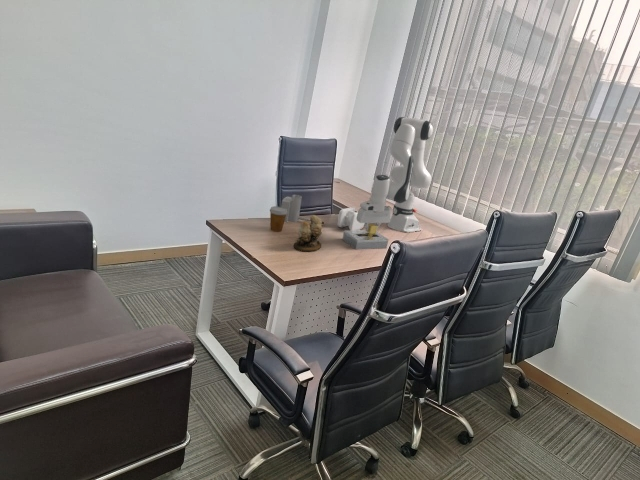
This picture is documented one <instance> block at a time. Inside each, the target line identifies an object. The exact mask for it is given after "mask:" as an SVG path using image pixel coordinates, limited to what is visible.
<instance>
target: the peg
mask: <svg viewBox="0 0 640 480" xmlns="http://www.w3.org/2000/svg"><path fill="white" fill-rule="evenodd" d="M376 225H377V224H375V223H369V225H368V227H370V229H369V230H366V231H367V232H368V233H369V234H368V236H370V237H372V235H373V233H376V232H378V230H377V227H378V226H376ZM378 228H379V227H378Z"/></svg>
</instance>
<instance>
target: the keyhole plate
mask: <svg viewBox="0 0 640 480" xmlns="http://www.w3.org/2000/svg"><path fill="white" fill-rule="evenodd" d="M368 234H369V233H368V232H367V231H366V230H365V229H363V230H362V229H361V230H353V231H350V230H344V231H343V235H342V241H344V242H345V243H347V244H348V246H350V247H352V248H353V249H354V250H372V249H373V250H375V249H376V250H377V249H378V250H379V249H380V250H381V249H387V247H388V243H389V238H387V237H386V236H384V235H383V234H381V233H380V232H378V231H376V233H373V235H372V237H370V236H368Z"/></svg>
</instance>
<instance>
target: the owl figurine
mask: <svg viewBox="0 0 640 480" xmlns="http://www.w3.org/2000/svg"><path fill="white" fill-rule="evenodd" d="M309 219H310V221H306V220H302V224H301V225H300V227H299V232H298V237H296V239H295V241H296V242H295V243H294V244H293V249H295V250H296V251H298V252H302V253H315V252H317V251H319V250H320V249H321V248H322V243H321V242H320V241H319V237H321V234H323V233H322V230H323V227H322V225H323V224H322V222H323V221H322V219H321V218H320V217H318V216H317V215H315V214H312V215H311V216H310V218H309Z"/></svg>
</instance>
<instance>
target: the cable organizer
mask: <svg viewBox="0 0 640 480" xmlns="http://www.w3.org/2000/svg"><path fill="white" fill-rule="evenodd" d="M357 214H358V211H356V208H355V207H354V206H351V207H347V208H346V207H345V208H341V210H339V213H338V219H337V224H336V226H337V227H339V228H341V229H343V228H344V227H348V228H349V231H353V230H362V229H363V228H364V227H365V223H359V222H358V221H357V219H356V218H357Z"/></svg>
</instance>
